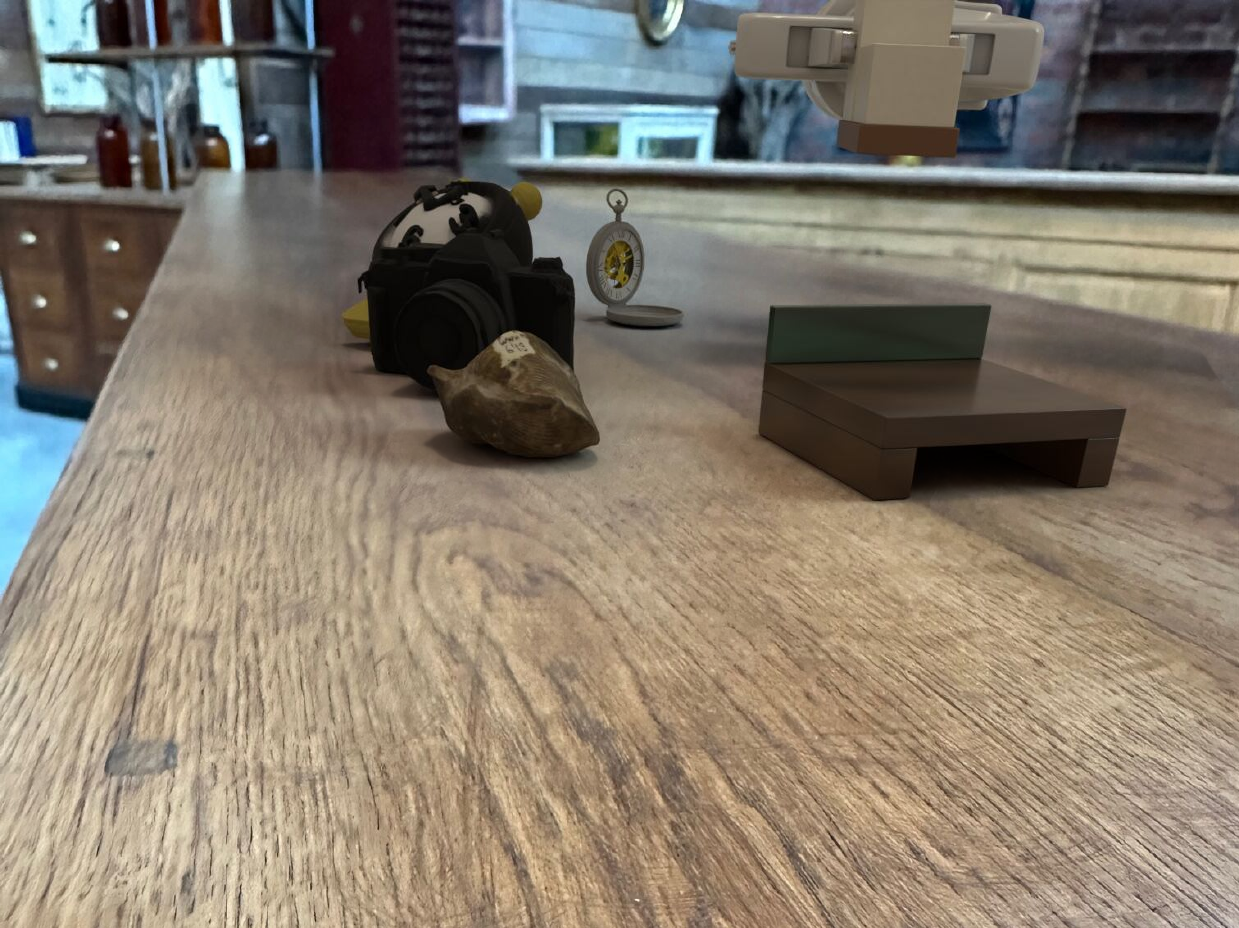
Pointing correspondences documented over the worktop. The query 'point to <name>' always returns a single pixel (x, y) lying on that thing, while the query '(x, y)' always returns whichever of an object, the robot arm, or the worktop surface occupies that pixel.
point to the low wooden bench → (918, 396)
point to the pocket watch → (622, 273)
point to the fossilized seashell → (517, 399)
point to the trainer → (902, 80)
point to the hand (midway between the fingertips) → (900, 48)
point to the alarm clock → (457, 224)
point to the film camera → (462, 303)
